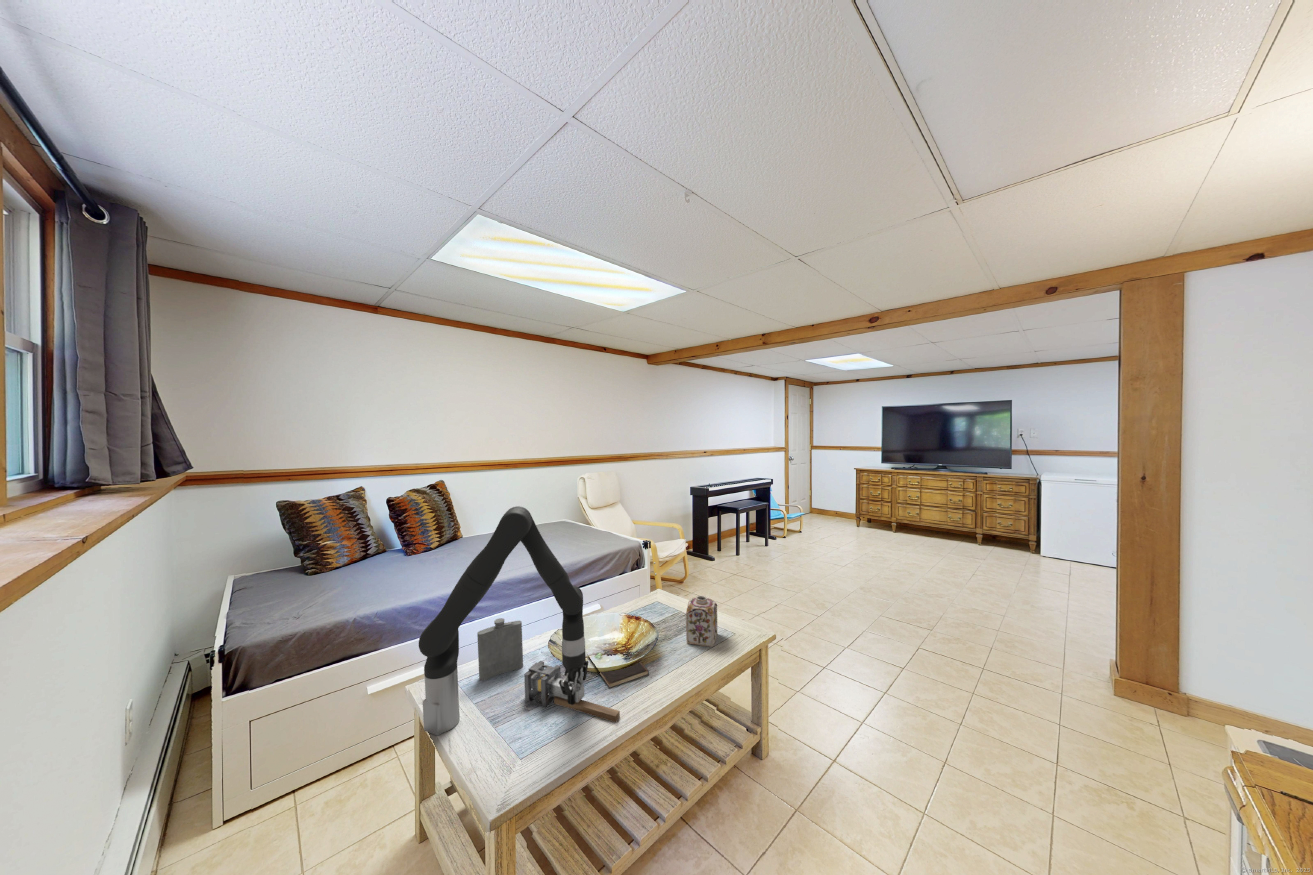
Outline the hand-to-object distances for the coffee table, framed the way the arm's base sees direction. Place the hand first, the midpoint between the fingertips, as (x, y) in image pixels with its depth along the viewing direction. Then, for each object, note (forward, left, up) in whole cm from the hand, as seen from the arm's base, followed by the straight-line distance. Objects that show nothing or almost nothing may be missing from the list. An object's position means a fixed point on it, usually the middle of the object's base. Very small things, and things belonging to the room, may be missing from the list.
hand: (575, 699), depth 139 cm
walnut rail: (0, -4, -3) cm, 5 cm away
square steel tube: (0, +8, +1) cm, 9 cm away
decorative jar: (+56, -26, -3) cm, 62 cm away
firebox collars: (0, +13, -3) cm, 13 cm away
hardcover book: (+26, -1, -3) cm, 26 cm away
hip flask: (+6, +38, -3) cm, 38 cm away
